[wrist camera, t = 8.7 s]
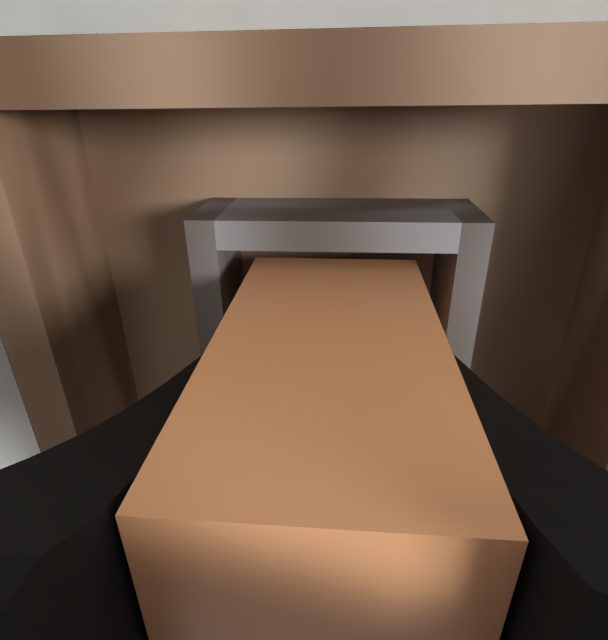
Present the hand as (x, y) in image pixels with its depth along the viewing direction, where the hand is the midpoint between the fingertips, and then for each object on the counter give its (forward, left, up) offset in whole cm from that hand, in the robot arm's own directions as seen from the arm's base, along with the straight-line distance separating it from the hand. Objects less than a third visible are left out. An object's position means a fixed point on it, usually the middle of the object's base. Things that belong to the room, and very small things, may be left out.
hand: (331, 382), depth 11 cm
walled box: (0, 0, -5) cm, 5 cm away
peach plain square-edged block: (0, 0, -2) cm, 2 cm away
